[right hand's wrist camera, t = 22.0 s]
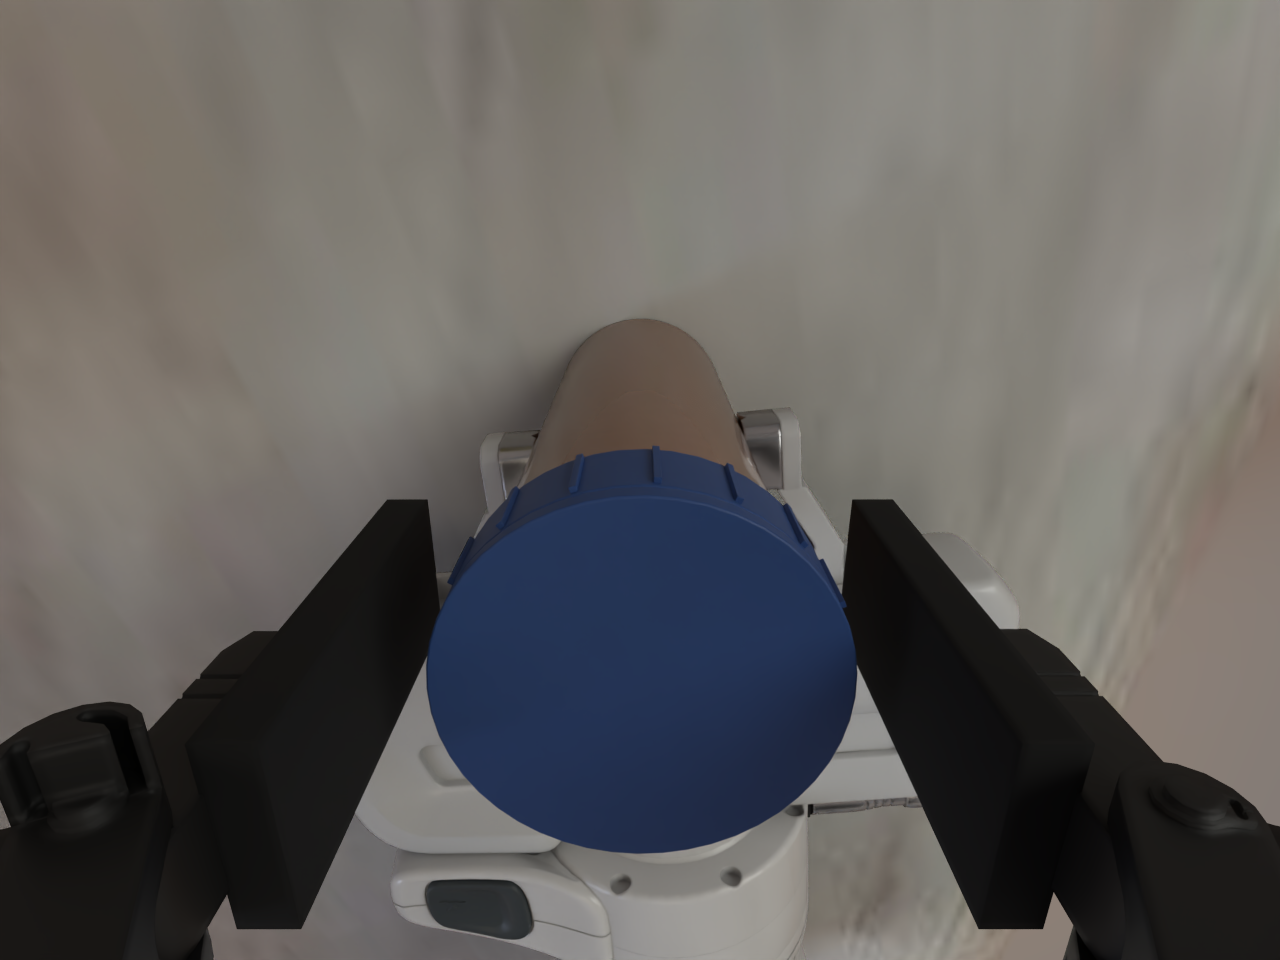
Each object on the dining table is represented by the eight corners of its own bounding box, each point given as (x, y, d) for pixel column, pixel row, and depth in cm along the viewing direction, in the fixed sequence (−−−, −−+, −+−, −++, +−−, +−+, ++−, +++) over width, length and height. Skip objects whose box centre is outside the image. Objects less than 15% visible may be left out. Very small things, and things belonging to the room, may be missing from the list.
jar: (536, 431, 26) (407, 725, 12) (604, 289, 24) (551, 427, 10) (673, 496, 27) (711, 843, 13) (749, 364, 25) (895, 591, 11)
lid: (648, 357, 11) (650, 389, 9) (907, 626, 12) (952, 700, 10) (375, 615, 12) (330, 687, 10) (637, 822, 14) (636, 916, 12)
